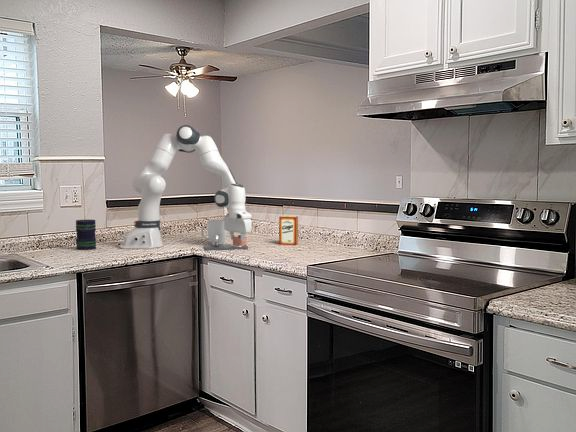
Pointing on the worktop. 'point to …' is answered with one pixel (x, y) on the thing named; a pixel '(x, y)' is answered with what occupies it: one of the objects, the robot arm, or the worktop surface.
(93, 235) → the storage jar
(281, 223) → the baking soda box
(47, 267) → the worktop surface
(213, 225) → the mug
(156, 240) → the robot arm
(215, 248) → the base
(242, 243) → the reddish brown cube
